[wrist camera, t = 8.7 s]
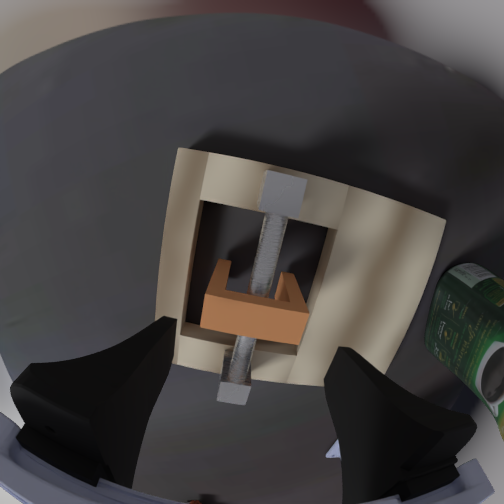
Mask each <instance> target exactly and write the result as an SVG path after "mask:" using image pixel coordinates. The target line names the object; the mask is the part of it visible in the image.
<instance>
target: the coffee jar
mask: <svg viewBox="0 0 504 504" xmlns="http://www.w3.org/2000/svg"><path fill="white" fill-rule="evenodd" d="M424 338H425V345H426V348H427V349H428V350H429V351H430V352H431V353H432V354H433V355H434V356H435V357H436V358H437V359H438V360H439V361H440V362H441V363H442V364H443V365H444V366H446V367H447V368H448V369H449V370H450V371H451V372H453V373H454V374H455V375H456V376H457V377H458V378H459V379H460V380H461V381H462V382H464V383H465V384H466V385H467V386H468V387H469V388H470V389H471V390H472V391H473V392H474V393H475V394H476V395H477V396H478V397H479V398H480V400H482V402H483V403H484V404H485V405H486V406H487V408H488V409H489V410H490V411H491V413H492V414H493V416H494V418H495V420H496V422H497V425H498V428H499V431H500V434H501V436H502V439H503V440H504V280H502V279H501V278H499V277H498V276H497V275H495V274H494V273H492V272H491V271H489V270H488V269H486V268H484V267H483V266H481V265H478V264H474V263H464V264H459V265H456V266H454V267H452V268H450V269H449V270H448V271H447V272H445V274H444V275H443V276H442V277H441V278H440V280H439V281H438V284H437V286H436V289H435V292H434V296H433V299H432V303H431V306H430V310H429V315H428V319H427V324H426V330H425V337H424Z"/></svg>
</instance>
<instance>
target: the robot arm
mask: <svg viewBox="0 0 504 504" xmlns="http://www.w3.org/2000/svg"><path fill="white" fill-rule="evenodd" d="M176 327H177V319H176V318H172V317H167V316H162V317H161V318H159V319H158V320H156V321H155V322H153V323H152V324H150V325H149V326H148V327H146V328H145V329H143V330H141V331H140V332H138V333H137V334H135V335H134V336H132V337H130V338H128V339H126V340H125V341H123V342H121V343H119V344H117V345H115V346H113V347H110V348H108V349H105V350H103V351H100V352H97V353H94V354H91V355H87V356H84V357H80V358H76V359H71V360H66V361H59V362H48V363H31V364H30V365H29V366H28V367H27V368H26V369H25V370H24V371H23V372H22V373H21V374H20V376H19V377H18V378H17V379H16V380H15V381H14V382H13V383H12V385H11V387H10V392H11V397H12V399H13V402H14V404H15V406H16V408H17V409H18V411H19V413H20V415H21V417H22V419H23V421H24V422H25V424H24V426H23V428H22V429H20V427H19V426H18V425H17V424H16V423H14V422H13V421H12V420H11V419H9V418H8V417H7V416H5V415H4V414H3V413H1V412H0V487H2V488H3V489H4V490H5V491H7V492H8V493H9V494H11V495H12V496H13V497H15V498H16V499H17V500H19V501H20V502H21V503H23V504H187V503H182V502H177V501H172V500H168V499H164V498H160V497H156V496H152V495H149V494H145V493H142V492H139V491H135V490H132V484H133V479H134V474H135V469H136V465H137V460H138V456H139V452H140V448H141V444H142V441H143V437H144V434H145V430H146V427H147V423H148V420H149V417H150V415H151V412H152V410H153V407H154V405H155V403H156V401H157V398H158V396H159V394H160V392H161V390H162V387H163V385H164V383H165V381H166V378H167V376H168V374H169V371H170V367H171V364H172V361H173V357H174V349H175V338H176ZM323 380H324V388H325V395H326V400H327V403H328V407H329V410H330V413H331V417H332V420H333V423H334V427H335V430H336V433H337V438H338V439H337V441H336V442H335V443H334V445H333V446H332V447H331V448H330V450H329V451H328V452H327V454H326V457H327V458H332V457H340V459H341V466H342V482H343V499H342V504H481V503H482V502H483V501H485V500H486V499H487V498H488V497H489V496H491V495H492V494H493V493H494V492H495V491H494V489H493V487H492V486H491V483H490V481H489V480H488V478H487V476H486V474H485V473H484V471H483V469H482V468H481V466H480V464H479V462H478V461H477V459H472V460H470V461H468V462H466V463H464V464H462V465H460V466H459V467H458V468H456V467H455V465H454V464H455V463H456V462H457V461H458V459H457V458H456V456H455V455H456V454H457V453H458V452H459V451H460V450H461V449H462V448H463V447H464V446H465V445H466V444H467V442H468V441H469V440H470V439H471V438H472V437H473V435H474V433H475V432H476V429H477V425H476V423H475V422H474V420H473V419H472V417H471V416H470V415H468V414H464V413H459V412H455V411H451V410H448V409H445V408H442V407H439V406H437V405H434V404H432V403H429V402H427V401H425V400H423V399H421V398H419V397H417V396H415V395H413V394H412V393H410V392H408V391H407V390H405V389H403V388H402V387H400V386H399V385H397V384H396V383H395V382H393V381H392V380H391V379H389V378H388V377H387V376H385V375H384V374H383V373H382V372H380V371H379V370H378V369H377V368H375V367H374V366H373V365H372V364H371V363H369V362H368V361H367V360H366V359H365V358H364V357H362V356H361V355H360V354H359V353H357V352H356V351H355V350H353V349H352V348H350V347H342V346H338V349H337V351H336V353H335V355H334V358H333V360H332V362H331V364H330V366H329V369H328V371H327V373H326V375H325V377H324V379H323Z"/></svg>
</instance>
